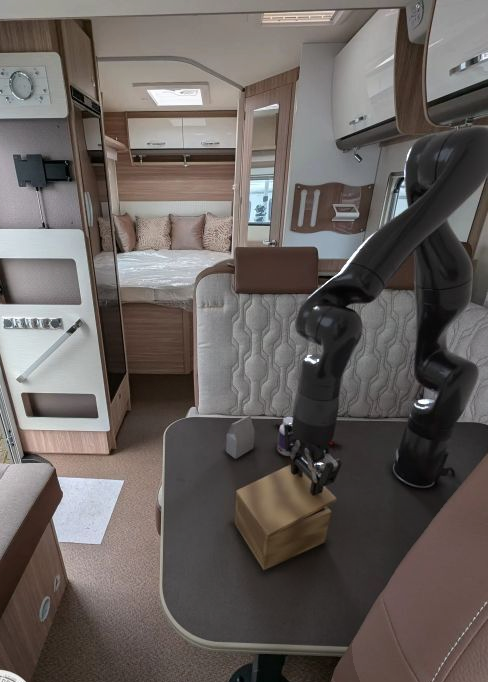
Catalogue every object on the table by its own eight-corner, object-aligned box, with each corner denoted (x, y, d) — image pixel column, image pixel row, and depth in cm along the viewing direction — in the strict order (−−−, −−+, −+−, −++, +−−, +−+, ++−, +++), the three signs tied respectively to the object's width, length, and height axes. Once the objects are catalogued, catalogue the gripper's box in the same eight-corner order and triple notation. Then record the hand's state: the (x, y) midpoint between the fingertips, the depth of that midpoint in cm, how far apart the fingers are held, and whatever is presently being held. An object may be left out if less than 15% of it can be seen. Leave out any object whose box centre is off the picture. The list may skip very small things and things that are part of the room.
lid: (298, 463, 78) (298, 443, 76) (336, 501, 69) (337, 480, 66) (236, 493, 74) (233, 473, 71) (267, 538, 64) (265, 517, 61)
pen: (337, 447, 101) (338, 444, 100) (273, 426, 110) (274, 423, 109) (338, 446, 101) (339, 442, 101) (275, 424, 110) (275, 421, 110)
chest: (290, 502, 83) (295, 472, 79) (324, 542, 74) (331, 511, 70) (234, 523, 78) (236, 493, 74) (263, 570, 68) (267, 538, 64)
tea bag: (253, 448, 100) (255, 418, 96) (235, 458, 96) (237, 428, 92) (243, 441, 103) (245, 412, 98) (226, 451, 99) (227, 421, 94)
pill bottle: (297, 458, 97) (301, 428, 92) (276, 455, 98) (280, 425, 93) (297, 445, 101) (301, 416, 97) (277, 442, 102) (280, 414, 98)
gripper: (361, 428, 60) (345, 501, 68) (306, 389, 72) (298, 455, 79) (325, 440, 57) (313, 515, 65) (274, 397, 69) (269, 465, 77)
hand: (305, 482), depth 72 cm, fingers closed on lid, 5 cm apart
